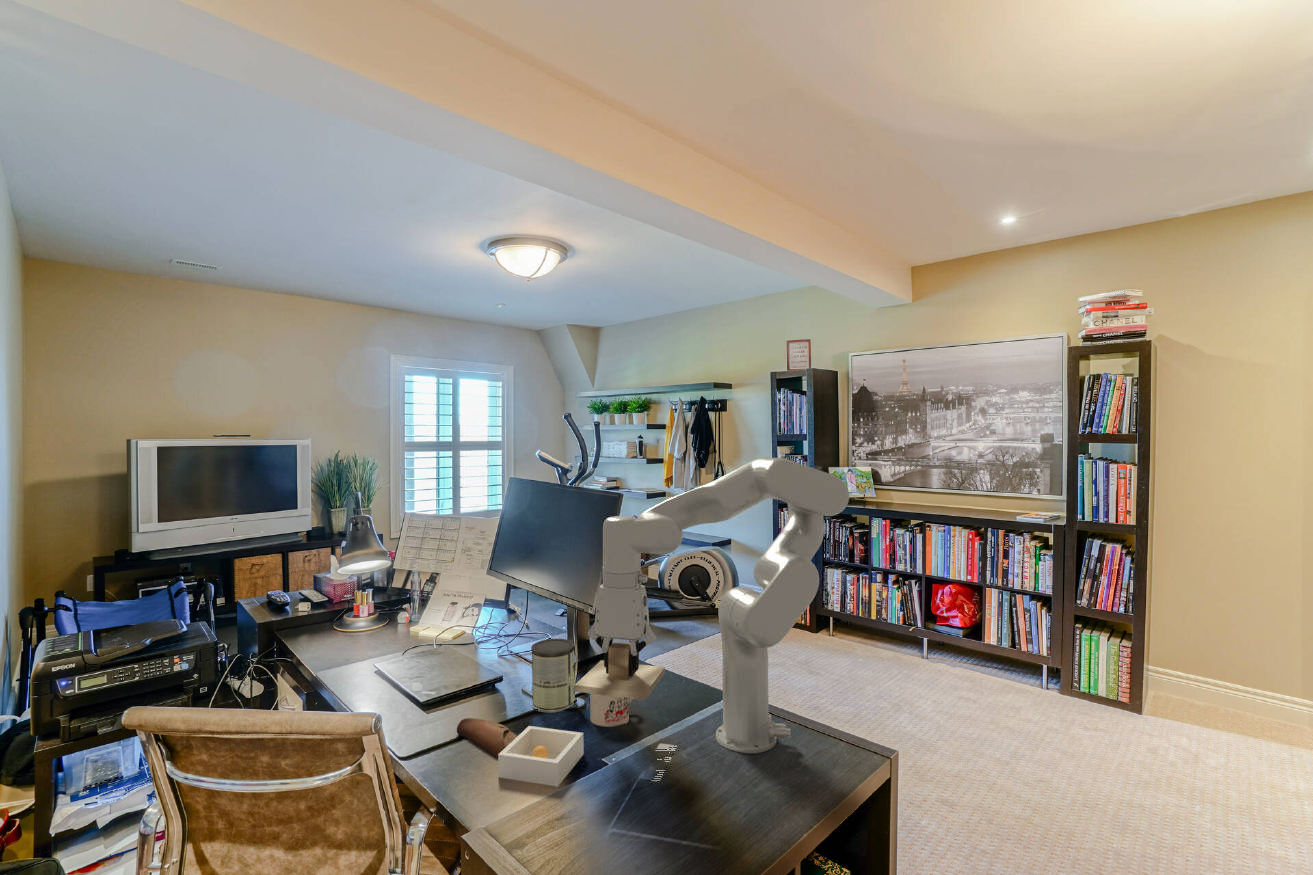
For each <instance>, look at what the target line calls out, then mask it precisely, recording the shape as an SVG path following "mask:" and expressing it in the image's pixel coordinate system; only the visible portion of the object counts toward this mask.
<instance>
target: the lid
mask: <svg viewBox="0 0 1313 875" xmlns="http://www.w3.org/2000/svg"><path fill="white" fill-rule="evenodd" d="M630 653H631V650H630V644H629V641H628V642H627V641H616V640H615V641H613V644H612V645H611V646H610V647H609V657H608V674H607V673H606V667H604V660H600V661H599V662H598V663H596V664H595V666H593V667H592V668H591V669H589V670H588V672H586V674H585V675H584V676H582V678H580V679H579V680H578V681H577V682H576V683H575V685H574V691H575V693H576V692H578V693H586V694H590V693H592V694H600V695H608V696H617V697H625V698H633V699H632V700H634V699H636V700H640V701H641V700H642V701H646V700H647V698H648V697H649V695H650V694H651V692H652V691H653V690H654V688H655V687H656V686H657V685H658V684H659V682H660V680H661V679H662V678H663V676H664V675H665V674H666V667H665V666H660V665H659V666H657V665H647V664H640V663H639V668H638V670H637V671H636V672H635V674H634V675H633V676H629V656H630Z"/></svg>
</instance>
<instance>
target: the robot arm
mask: <svg viewBox="0 0 1313 875" xmlns="http://www.w3.org/2000/svg"><path fill="white" fill-rule="evenodd" d="M767 499H772V500H778V501H782V502H784V503H786V504H787V507H788V508H787V510H788V512H787V513H788V514H787V521H786V522H785V525H784V527H782V530H781V531H780V532H779V534H778V535H777V537H776V538H775V539H774V540H773V542H772V543H771V544H770V545H769V546H768V548H767V549H766V550H765V551H764V553H763V554H762V555H761V556H760V558H759V559H758V561H756V563H755V565H754V569H753V578H754V580H755V582H756V584H757V585H758V586H759V587H760V588H761V589H763V591H762V592H761V593H760V592H759V591H756V590H754V589H752V588H749V587H746V586H736V587H733V588H730V589H729V590H728V591H726V592H725V593H724V594H723V595H722V598H721V599H720V602H719V605H718V623H719V630H720V635H721V648H722V649H721V651H722V653H721V654H722V725H720V726H719V727H718V728H717V729H716V731H715V740H716V742H717V743H718V744H719V745H721V747H722V748H723V747H724V748H726V749H727V750H729V751H732V752H736V753H744V754H745V753H746V754H760V753H764V752H767V751H770V750H772V749H773V748H774V747H775V746H776V745H777V738H781V739H787V740H790V739H791V737H792V736H791V734H792V733H791V731H792V730H791V728H787V727H786V726H787V725H786V724H785V723H775V721H772V714H769V651H768V648H772V647H774V646H776V645H777V644H778V643H780V642H781V641H782V640H783V639H784V638H785V637H786V636H787V635H788V633H789V632H790V631H791V630H792V628H793V627H794V626H795V624H796V623H798V621H799V619H800V618H801V616H802V615H803V614H804V613H805V612H806V610H807V608H808V607H809V606H810V605H811V603H812V602H813V600H814V598H815V597H816V595H817V592H818V590H819V586H820V575H819V571H818V569H817V567H816V565H815V564H814V563H813V562H812V560H813V558H814V556H815V555H816V553H817V551H818V550H819V549H820V547H821V545H822V542H823V540H824V535H825V523H824V516H825V517H833V516H837V515H840V513H842V512H843V511H844V510H845V509H846V507H847V506H848V503H849V501H850V491H849V489H848V487H847V484H846V483H845V482H844V481H843V480H842V479H841V478H840V477H838V476H836V475H835V474H834V475H833V474H831V473H828V472H826V471H823V470H819V469H816V468H814V467H810V466H809V465H804V464H802V463H800V462H797V461H793V460H790V459H786V458H783V457H760V458H756V459H753V460H751V461H749V462H747V463H745V464H743V465H741V466H739V467H738V468H736V469H734V470H732V471H730V472H729V473H727V474H725V475H722V476H721V477H718V478H717V479H715V480H713V481H711V482H708V483H706V484H704V485H701V486H698V487H696V488H693V489H691V490H689V491H686V492H683V493H680V494H677V495H674V497H670V498H669V499H666V500H664V501H662V502H661V503H658V504H655V506H653V507H651V508H649V509H647V510H644V512H642V513H640V514H639V516H637V517H635V516H629V515H617V516H610V517H607V518H606V519H605V520H604V522H603V525H602V583H601V585H599V588H598V592H597V593H598V594H597V600H596V604H595V605H596V606H595V618H594V622H593V624H592V625H591V627H590V628H589V630H588V632H587V635H588V637H589V638H590V639H592V640H593V641H595V642H596V644H597V645H598V646H599V647H600V648H601V652H602V653H603V661H604V667H606V673H607V674H608V657H609V647H610V646H611V645H612V644H613V643H614V640H615V639H618V640H627V641H628V642H629V644H630V650H631V653H630V656H629V676H633V675H634V674H635V672H636V671H637V670H638V668H639V664H640V659H639V658H640V656H639V655H640V652H641V651H642V650H643V649H644V648H645V647H647V646H649V645H651V644H652V643H654V642H655V641H656V640H657V637H656V635H655V633H654V631H653V630H652V628H651V626H650V618H649V617H650V615H649V604H648V602H649V601H648V597H647V596H648V595H647V589H646V587H645V585H642V583H647V582H648V580H649V577H648V574H643V570H642V569H641V567H642V563H641V562H642V561H641V560H642V559H641V558H642V556H641V555H642V554H652V555H653V554H654V555H668V554H671V553H673V552H675V551H676V550H677V549H679V547H680V546H681V544H682V541H683V537H684V536H683V535H684V534H683V530H685V529H689V528H692V527H695V526H698V525H704V524H715V523H716V524H717V523H721V522H726V521H728V520H730V519H732V518H735V517H736V516H737V515H739V514H741V513H743V512H745V511H747V510H749V509H750V508H753V507H754V506H756V505H758V504H760V503H762V502H764V501H765V500H767ZM644 635H645V638H644ZM643 638H644V639H643ZM641 639H642V640H641ZM640 640H641V641H640Z"/></svg>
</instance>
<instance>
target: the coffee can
mask: <svg viewBox="0 0 1313 875" xmlns="http://www.w3.org/2000/svg"><path fill="white" fill-rule="evenodd" d="M575 645H576V644H575V642H573V640H570V639H566V638H548V639H543V640H539V641H537V642H535V643H533V644H532V645H531V647H530V648H531V649H530V650H531V661H532V662H531V669H532V670H531V671H532V672H531V673H532V676H531V677H532V680H531V681H532V682H531V683H532V686H531V689H532V704H533V706H534V707H535V708H537V709H538V711H537V712H541V713H543V714H544V713H547V714H549V713H550V714H552V713H560V712H563V711H565V710H566V709H569V708H571V707H572V706H573V705H574V704H575V703H574V701H575V702H576V697H575V696H576V694H575V693H576V692H575V691H574V685H575V684H576V683H575V682H576V681H575V647H576V646H575ZM533 706H532V707H533Z"/></svg>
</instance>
